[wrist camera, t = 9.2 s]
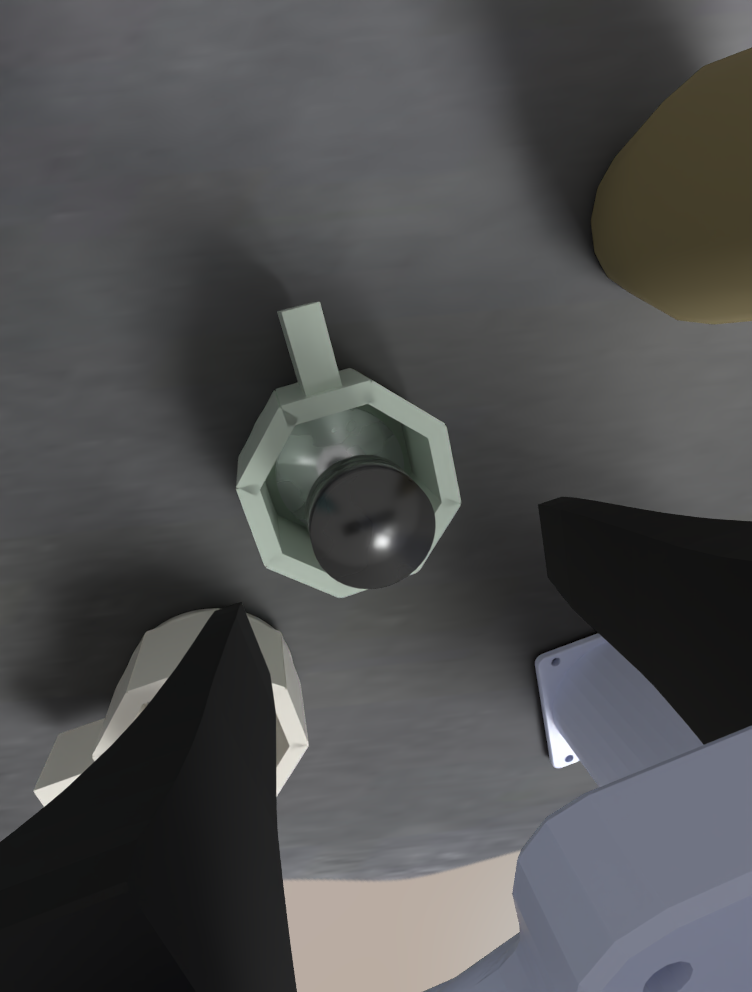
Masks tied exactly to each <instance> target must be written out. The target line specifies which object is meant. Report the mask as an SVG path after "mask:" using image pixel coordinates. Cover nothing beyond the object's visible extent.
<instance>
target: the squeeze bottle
mask: <svg viewBox="0 0 752 992" xmlns="http://www.w3.org/2000/svg"><path fill="white" fill-rule="evenodd" d="M591 227H592V236H593V244H594V253H595V254H596V256H597V258H598V260H599V262H600V264H601V266H602V268H603V270H604V271H605V273H606V275H607V277H608V278H610V279H611V280H612V281H614V282H615V283H616V284H618V285H619V286H620V287H622V288H623V289H625V290H626V291H627V292H629V293H631V294H633V295H634V296H636V297H638V298H640V299H641V300H643V301H645V302H647V303H648V304H650V305H652V306H654V307H655V308H657V309H659V310H661V311H662V312H664V313H666V314H668V315H669V316H671V317H673V318H675V319H676V320H681V321H689V322H698V323H706V324H723V323H734V322H745V321H752V48H749V49H747V50H744V51H741V52H739V53H736V54H734V55H731V56H728V57H726V58H723V59H721V60H718V61H715V62H713V63H710V64H708V65H705V66H703V67H702V68H701V69H700V70H698V71H697V72H696V73H695V74H694V75H693V76H692V77H691V78H689V79H688V80H687V81H686V82H685V83H684V84H683V85H682V86H680V87H679V88H678V89H677V90H676V91H675V92H674V93H672V94H671V95H670V96H669V97H668V98H667V99H666V100H665V101H663V103H662V104H661V105H660V106H659V107H658V108H657V109H656V111H655V112H654V113H653V114H652V115H651V116H650V117H649V119H648V120H647V121H646V122H645V123H644V124H643V125H642V127H641V128H640V129H639V130H638V131H637V132H636V133H635V135H634V136H633V137H632V138H631V139H630V140H629V142H628V143H627V144H626V145H625V146H624V147H623V148H622V150H621V151H620V152H619V153H618V154H617V155H616V156H615V158H614V159H613V161H612V163H611V165H610V166H609V168H608V170H607V172H606V174H605V175H604V177H603V179H602V181H601V183H600V184H599V186H598V188H597V193H596V198H595V203H594V208H593V213H592V218H591Z"/></svg>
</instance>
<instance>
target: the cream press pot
mask: <svg viewBox="0 0 752 992" xmlns="http://www.w3.org/2000/svg"><path fill="white" fill-rule="evenodd" d="M219 609H222V608H208V609H200V610H194V611H190V612H186V613H183V614H180V615H178V616H175V617H173V618H171V619H169V620H167V621H165V622H163V623H161V624H160V625H159V626H157V627H156V628H154V629H152V630H149V631H147V632H146V633H145V634H144V636H143V638H142V640H141V641H140V643H139V644H138V646H137V647H136V649H135V651H134V652H133V654H132V656H131V659H130V661H129V664H128V666H127V668H126V670H125V672H124V673H123V675H122V677H121V679H120V681H119V683H118V685H117V687H116V689H115V692H114V695H113V698H112V700H111V703H110V706H109V709H108V712H107V715H106V717H105V718H104V719H101V720H98V721H95V722H92V723H89V724H86V725H83V726H80V727H78V728H75V729H72V730H69V731H66V732H63V733H60V734H59V735H58V737H57V739H56V741H55V744H54V746H53V748H52V750H51V752H50V755H49V757H48V759H47V761H46V764H45V766H44V768H43V770H42V773H41V775H40V777H39V779H38V781H37V784H36V786H35V788H34V790H33V791H34V793H35V794H36V796H37V797H38V799H39V800H40V801H41V803H42V804H43V806H44V807H45V806H46V805H47V804H48V803H49V802H51V801H52V800H53V799H54V798H55V797H56V796H58V795H59V794H60V793H61V792H62V791H63V790H65V789H66V788H67V787H68V786H69V785H70V784H71V783H72V782H73V781H74V780H75V779H77V778H78V777H79V776H80V775H81V774H82V773H83V772H84V771H85V770H86V769H87V768H88V767H89V766H90V765H91V764H92V763H93V762H94V761H96V760H97V759H98V758H99V757H100V756H101V755H102V754H103V753H104V752H105V751H106V750H107V749H108V748H109V747H110V746H111V745H112V744H113V743H114V742H115V741H116V740H117V739H118V738H119V737H120V736H121V734H122V733H123V732H124V731H125V730H126V729H127V728H128V727H129V726H130V725H131V724H132V722H133V721H134V720H135V719H136V718H137V717H138V716H139V714H140V713H141V712H142V711H143V710H144V709H145V707H146V706H147V705H148V702H150V701H151V700H152V699H153V697H154V696H155V695H156V693H157V692H158V691H159V689H160V688H161V687H162V686H163V684H164V683H165V682H166V680H167V679H168V678H169V676H170V675H171V674H172V672H173V671H174V670H175V668H176V667H177V666H178V664H179V663H180V661H181V660H182V658H183V657H184V655H185V654H186V652H187V651H188V649H189V648H190V647H191V645H192V644H193V642H194V641H195V639H196V638H197V636H198V634H199V633H200V631H201V630H202V628H203V627H204V625H205V624H206V622H207V621H208V619H209V618H210V616H211V615H212V614H213V612H214V611H216V610H219ZM246 614H247V617H248V619H249V622H250V624H251V627H252V629H253V632H254V634H255V637H256V639H257V642H258V644H259V647H260V649H261V652H262V654H263V657H264V659H265V662H266V664H267V667H268V669H269V672H270V675H271V682H272V688H273V695H274V703H275V710H276V797H277V795H278V794H279V792H280V790H281V789H282V787H283V786H284V784H285V782H286V781H287V779H288V778H289V776H290V775H291V773H292V771H293V770H294V768H295V767H296V765H297V764H298V762H299V760H300V759H301V757H302V756H303V754H304V752H305V751H306V749H307V748H308V746H309V745H308V744H309V742H308V735H307V728H306V720H305V713H304V705H303V698H302V690H301V683H300V680H299V678H298V675H297V672H296V670H295V667H294V665H293V659H292V656H291V652H290V650H289V648H288V646H287V644H286V642H285V641H284V638H283V636H282V633H280V631H278V630H275V629H274V628H273V627H272V626H270V625H269V624H268V623H266V622H265V621H263V620H261V619H260V618H258V617H255V616H253V615H251V614H248V613H246Z"/></svg>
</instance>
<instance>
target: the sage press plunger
mask: <svg viewBox="0 0 752 992" xmlns="http://www.w3.org/2000/svg"><path fill="white" fill-rule="evenodd" d="M275 474H276V482H277V487H278V490H279V493H280V496H281V498H282V500H283V502H284V504H285V505H286V507H287V508H288V509H289V511H290V512H291V513H292V514H293V515H294V516H295V517H296V518H297V519H299V520H300V521H301V522H303V523H304V524H306V525H307V528H308V532H309V536H310V539H311V543H312V547H313V551H314V554H315V556H316V559H317V561H318V562H319V564H320V566H321V567H322V568H323V569H324V571H325V572H326V573H327V574H328V575H329V576H330V577H332V578H333V579H335V580H336V581H338V582H340V583H342V584H344V585H347V586H350V587H353V588H358V589H377V588H383V587H386V586H390V585H392V584H395V583H397V582H399V581H401V580H403V579H404V578H406V577H407V576H409V575H410V574H411V573H412V572H414V571H415V570H416V569H417V568H418V567H419V566H420V564H421V563H422V562H423V561H424V559H425V558H426V556H427V554H428V553H429V551H430V549H431V546H432V544H433V540H434V536H435V529H436V521H435V514H434V510H433V507H432V504H431V502H430V500H429V498H428V497H427V495H426V494H425V492H424V491H423V490H422V489H421V488H420V487H419V486H418V485H417V484H416V483H415V482H414V481H413V479H412V478H411V477H410V476H409V475H408V474H407V473H406V472H405V471H404V459H403V453H402V450H401V447H400V444H399V442H398V440H397V438H396V437H395V435H394V434H393V432H392V431H391V430H390V429H389V427H388V426H387V425H385V424H384V423H383V422H382V421H381V420H380V419H379V418H377V417H376V416H374V415H373V414H371V413H369V412H367V411H365V410H363V409H360V408H357V407H355V408H352V409H348V410H345V411H342V412H338V413H335V414H331V415H328V416H325V417H321V418H318V419H314V420H311V421H307V422H304V423H301V424H297V425H295V426H294V428H293V430H292V432H291V434H290V436H289V437H288V439H287V441H286V443H285V445H284V447H283V448H282V450H281V452H280V454H279V456H278V457H277V459H276V462H275Z"/></svg>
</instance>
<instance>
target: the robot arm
mask: <svg viewBox="0 0 752 992" xmlns="http://www.w3.org/2000/svg"><path fill="white" fill-rule="evenodd" d="M538 507H539V515H540V522H541V530H542V537H543V545H544V552H545V559H546V567H547V574H548V578H549V579H550V581H551V582H552V583H553V585H554V586H555V587H556V589H557V590H558V591H559V593H560V594H561V595H562V596H563V598H564V599H565V600H566V601H567V602H568V604H569V605H570V606H571V607H572V608H573V609H574V610H575V611H576V612H577V613H578V614H579V615H580V616H581V617H582V618H583V619H584V620H585V621H586V622H587V623H588V624H589V625H590V626H591V627H592V628H593V629H594V630H596V631H597V632H598V633H597V634H595V635H592V636H589V637H586V638H584V639H581V640H578V641H576V642H573V643H570V644H567V645H565V646H562V647H559V648H557V649H554V650H551V651H548V652H546V653H543V654H541V655H539V656H538V657H537V658H536V660H535V669H536V675H537V681H538V688H539V694H540V700H541V707H542V713H543V719H544V726H545V732H546V739H547V745H548V751H549V758H550V761H551V763H552V765H553V766H554V767H555V768H562V767H565V766H567V765H570V764H572V763H575V762H577V761H581V763H582V764H583V766H584V767H585V768H586V770H587V771H588V772H589V774H590V775H591V777H592V778H593V779H594V781H595V782H596V783H597V785H598V786H599V788H596V789H594V790H591V791H589V792H586V793H584V794H582V795H581V796H579V797H578V798H576V799H574V800H573V801H571V802H570V803H568V804H566V805H565V806H563V807H562V808H560V809H558V810H557V811H555V812H554V813H552V814H550V815H549V816H547V817H546V818H545V819H544V821H543V822H542V823H541V825H540V826H539V827H538V829H537V830H536V831H535V832H534V834H533V835H532V836H531V838H530V839H529V840H528V842H527V843H526V844H525V846H524V847H523V848H522V849H521V852H520V854H519V857H518V860H517V866H516V873H515V880H514V886H513V893H512V894H513V899H514V903H515V908H516V912H517V917H518V921H519V926H520V932H519V933H518V934H516V935H515V936H513V937H512V938H510V939H509V940H508V941H506V942H505V943H503V944H502V945H501V946H499V947H498V948H496V949H495V950H493V951H492V952H491V953H489V954H488V955H486V956H485V957H484V958H482V959H481V960H479V961H478V962H477V963H475V964H474V965H472V966H471V967H469V968H468V969H467V970H465V971H464V972H462V973H461V974H459V975H458V976H457V977H455V978H453V979H451V980H449V981H447V982H444V983H442V984H439V985H437V986H435V987H432V988H430V989H428V990H426V991H424V992H752V521H736V520H721V519H709V518H699V517H691V516H683V515H676V514H668V513H662V512H655V511H649V510H643V509H637V508H631V507H626V506H620V505H615V504H609V503H604V502H598V501H593V500H586V499H580V498H571V497H560V498H557V499H554V500H551V501H547V502H544V503H541V504H538ZM555 658H556V659H555ZM553 659H555V660H554V661H552V660H553ZM0 992H297V989H296V982H295V975H294V968H293V960H292V953H291V945H290V937H289V929H288V921H287V913H286V904H285V896H284V888H283V879H282V869H281V860H280V851H279V841H278V831H277V810H276V710H275V703H274V695H273V688H272V682H271V675H270V672H269V669H268V667H267V664H266V662H265V659H264V657H263V654H262V652H261V649H260V647H259V644H258V642H257V639H256V637H255V634H254V632H253V629H252V627H251V624H250V622H249V619H248V617H247V614H246V612H245V610H244V607H243V605H242V602H240V603H237V604H234V605H231V606H228V607H225V608H222V609H219V610H216V611H214V612H213V614H212V615H211V616H210V618H209V619H208V621H207V622H206V624H205V625H204V627H203V628H202V630H201V631H200V633H199V634H198V636H197V638H196V639H195V641H194V642H193V644H192V645H191V647H190V648H189V649H188V651H187V652H186V654H185V655H184V657H183V658H182V660H181V661H180V663H179V664H178V666H177V667H176V668H175V670H174V671H173V672H172V674H171V675H170V676H169V678H168V679H167V680H166V682H165V683H164V684H163V686H162V687H161V688H160V689H159V691H158V692H157V693H156V695H155V696H154V697H153V699H152V700H151V701H150V703H149V704H148V705H147V706H146V707H145V709H144V710H143V711H142V712H141V713H140V714H139V716H138V717H137V718H136V719H135V720H134V721H133V722H132V724H131V725H130V726H129V727H128V728H127V729H126V730H125V731H124V732H123V733H122V734H121V736H120V737H119V738H118V739H117V740H116V741H115V742H114V743H113V744H112V745H111V746H110V747H109V748H108V749H107V750H106V751H105V752H104V753H103V754H102V755H101V756H100V757H99V758H98V759H97V760H96V761H94V762H93V763H92V764H91V765H90V766H89V767H88V768H87V769H86V770H85V771H84V772H83V773H82V774H81V775H80V776H79V777H78V778H77V779H75V780H74V781H73V782H72V783H71V784H70V785H69V786H68V787H67V788H66V789H65V790H63V791H62V792H61V793H60V794H59V795H58V796H56V797H55V798H54V799H53V800H52V801H51V802H49V803H48V804H47V805H46V806H45V807H44V808H42V809H41V810H40V811H39V812H38V813H36V814H35V815H34V816H33V817H31V818H30V819H29V820H28V821H26V822H25V823H24V824H23V825H21V826H20V827H19V828H18V829H16V830H15V831H14V832H13V833H11V834H10V835H9V836H7V837H6V838H5V839H4V840H2V841H1V842H0Z"/></svg>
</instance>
